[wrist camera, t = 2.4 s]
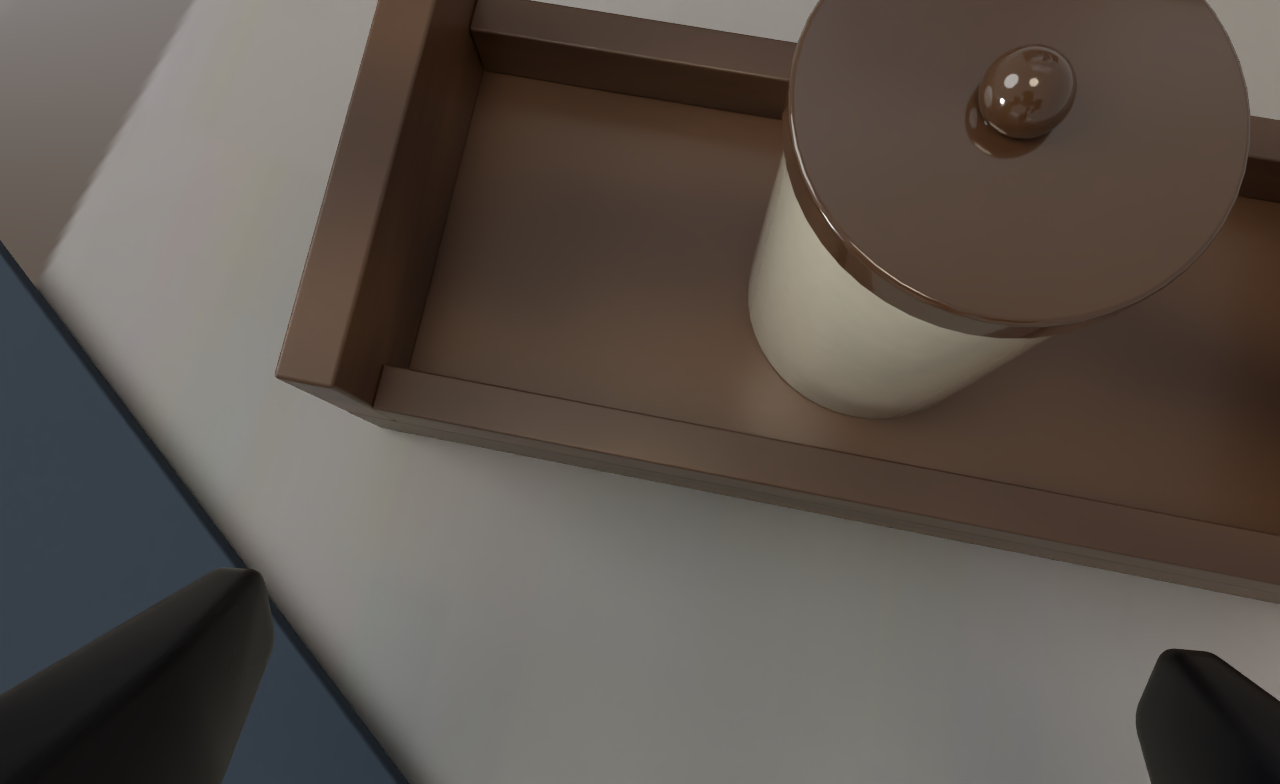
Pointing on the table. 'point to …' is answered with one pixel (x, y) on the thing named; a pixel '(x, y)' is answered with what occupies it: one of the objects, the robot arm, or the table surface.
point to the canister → (985, 185)
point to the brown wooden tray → (746, 308)
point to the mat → (130, 549)
